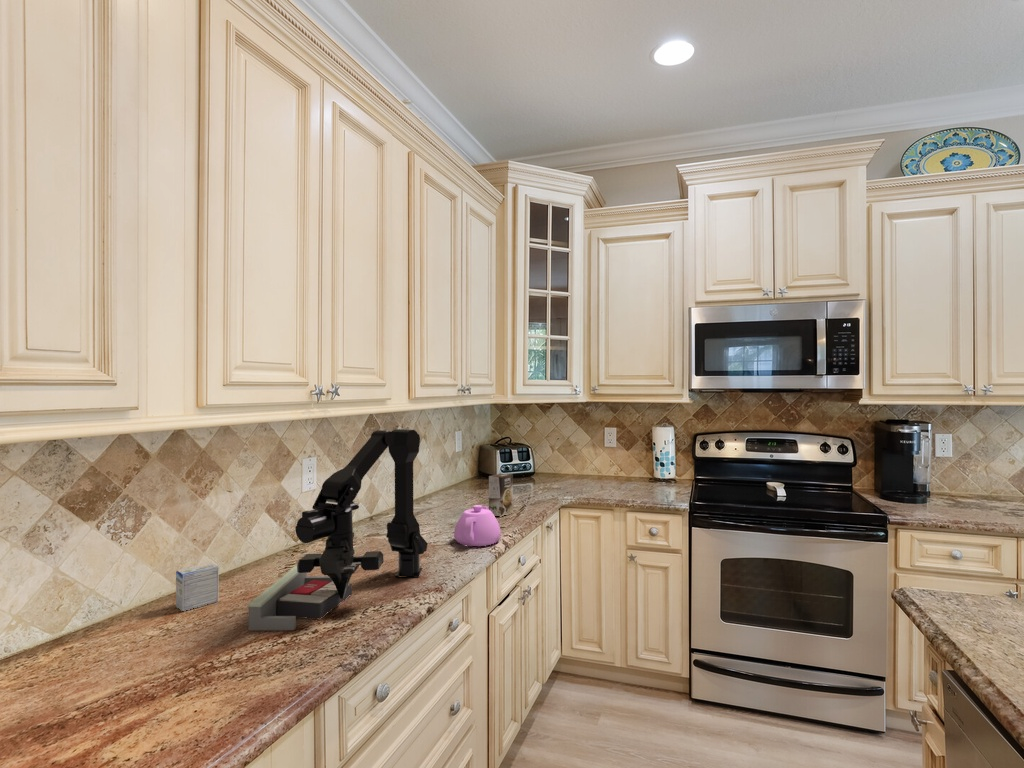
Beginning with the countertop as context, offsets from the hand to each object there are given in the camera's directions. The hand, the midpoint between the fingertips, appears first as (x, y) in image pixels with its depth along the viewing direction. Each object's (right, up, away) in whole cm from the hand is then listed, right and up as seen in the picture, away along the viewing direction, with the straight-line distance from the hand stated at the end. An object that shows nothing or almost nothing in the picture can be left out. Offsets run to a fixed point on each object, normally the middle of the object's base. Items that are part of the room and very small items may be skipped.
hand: (342, 598), depth 128 cm
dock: (-11, -2, 0) cm, 11 cm away
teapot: (+28, -3, +54) cm, 61 cm away
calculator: (-6, -2, +1) cm, 7 cm away
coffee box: (+35, -3, +93) cm, 99 cm away
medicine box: (-34, -2, +1) cm, 34 cm away
